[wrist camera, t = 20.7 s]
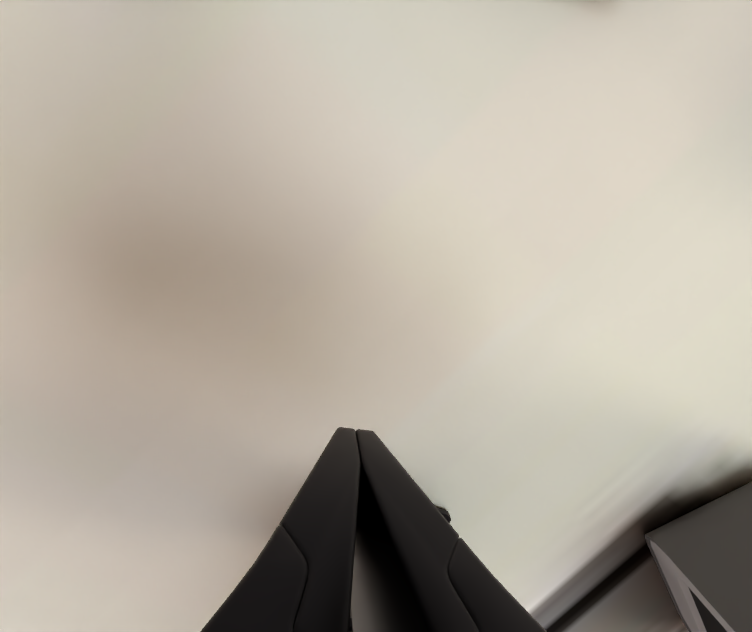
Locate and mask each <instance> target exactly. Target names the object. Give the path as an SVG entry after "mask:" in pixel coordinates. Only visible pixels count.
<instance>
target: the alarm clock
mask: <svg viewBox="0 0 752 632" xmlns="http://www.w3.org/2000/svg"><path fill="white" fill-rule="evenodd" d="M645 539H646V543H647V545H648V547H649V549H650V552H651V554H652V556H653V558H654V561H655V563H656V565H657V567H658V569H659V572H660V574H661V576H662V578H663V581H664V583H665V585H666V587H667V590H668V592H669V594H670V596H671V598H672V601H673V603H674V605H675V607H676V610H677V612H678V614H679V616H680V617H681V619H682V621H683V623H684V624H685V626H686V628H687V629H688V631H689V632H752V482H750V483H748V484H746V485H744V486H742V487H740V488H738V489H736V490H734V491H732V492H730V493H728V494H726V495H724V496H722V497H720V498H718V499H716V500H714V501H712V502H710V503H708V504H706V505H704V506H702V507H700V508H698V509H695V510H693V511H691V512H689V513H687V514H685V515H683V516H681V517H679V518H677V519H675V520H673V521H671V522H669V523H667V524H665V525H663V526H661V527H659V528H657V529H655V530H653V531H651V532H649V533H647V534H645Z"/></svg>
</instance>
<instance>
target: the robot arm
mask: <svg viewBox="0 0 752 632" xmlns="http://www.w3.org/2000/svg"><path fill="white" fill-rule="evenodd" d="M450 521H451V518H450V515H449V513H448V511H446V510H443V509H440V508H437V507H435V506H434V504H433V503H432V502H431V501H430V499H429V498H428V497H427V496H426V495H425V493H424V492H423V491H422V490H421V489H420V487H419V486H418V485H417V484H416V482H415V481H414V480H413V479H412V478H411V476H410V475H409V474H408V473H407V472H406V470H405V469H404V468H403V467H402V465H401V464H400V463H399V462H398V461H397V459H396V458H395V457H394V456H393V455H392V453H391V452H390V451H389V450H388V448H387V447H386V446H385V445H384V444H383V442H382V441H381V440H380V439H379V438H378V436H377V435H376V434H375V433H374V432H373V431H369V430H360V429H358V430H356V431H355V430H354V429H352V428H343V427H339V428H337V430H336V431H335V433H334V435H333V436H332V438H331V440H330V441H329V443H328V444H327V446H326V448H325V449H324V451H323V453H322V454H321V456H320V458H319V459H318V461H317V463H316V464H315V466H314V468H313V469H312V471H311V473H310V474H309V476H308V477H307V479H306V481H305V482H304V484H303V486H302V487H301V489H300V491H299V492H298V494H297V496H296V497H295V499H294V501H293V502H292V504H291V505H290V507H289V509H288V510H287V512H286V514H285V515H284V517H283V519H282V520H281V522H280V524H279V526H278V527H277V528H276V530H275V531H274V533H273V535H272V536H271V538H270V540H269V541H268V543H267V544H266V546H265V547H264V549H263V550H262V552H261V553H260V555H259V556H258V558H257V559H256V561H255V562H254V564H253V565H252V567H251V568H250V569H249V571H248V572H247V573H246V575H245V576H244V577H243V579H242V580H241V581H240V583H239V584H238V585H237V587H236V588H235V589H234V590H233V592H232V593H231V594H230V595H229V597H228V598H227V599H226V600H225V602H224V603H223V604H222V605H221V607H220V608H219V609H218V610H217V612H216V613H215V614H214V615H213V617H212V618H211V619H210V620H209V622H208V623H207V624H206V625H205V627H204V628H203V629H202V630H201V632H547V631H546V630H545V629H544V628H543V627H542V626H541V625H540V624H539V623H538V622H537V621H536V620H535V619H534V618H533V617H532V616H531V615H530V614H529V613H528V612H527V611H526V610H525V609H524V608H523V607H522V606H521V605H520V604H519V602H518V601H517V600H516V599H515V598H514V597H513V596H512V595H511V594H510V593H509V592H508V591H507V590H506V589H505V588H504V587H503V585H502V584H501V583H500V582H499V581H498V580H497V579H496V578H495V577H494V576H493V575H492V574H491V572H490V571H489V570H488V569H487V568H486V567H485V565H484V564H483V563H482V562H481V561H480V560H479V558H478V557H477V556H476V555H475V554H474V553H473V551H472V550H471V549H470V548H469V547H468V545H467V544H466V543H465V542H464V541H463V539H462V538H459V535H458V533H457V532H456V531H455V530H454V529H453V527H452V526H451V525H450V524H449V523H450ZM458 538H459V539H458Z"/></svg>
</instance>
